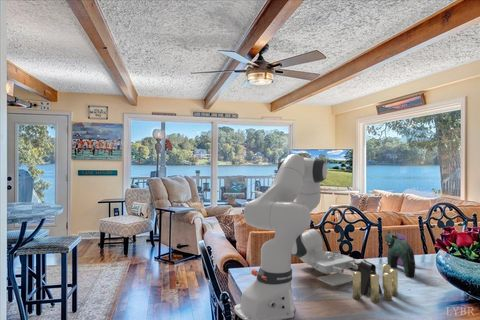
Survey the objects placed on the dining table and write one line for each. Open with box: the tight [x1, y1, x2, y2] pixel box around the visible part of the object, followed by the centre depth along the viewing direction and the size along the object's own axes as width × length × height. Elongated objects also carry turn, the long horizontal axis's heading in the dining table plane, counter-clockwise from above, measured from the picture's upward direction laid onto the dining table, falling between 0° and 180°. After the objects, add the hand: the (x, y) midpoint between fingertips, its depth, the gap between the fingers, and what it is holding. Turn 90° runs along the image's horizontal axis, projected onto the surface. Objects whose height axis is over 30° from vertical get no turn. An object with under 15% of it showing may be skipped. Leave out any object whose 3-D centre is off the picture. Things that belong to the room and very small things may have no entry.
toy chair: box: [396, 233, 408, 266], centre depth 170 cm, size 8×9×15 cm
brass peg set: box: [352, 263, 399, 304], centre depth 127 cm, size 22×10×10 cm, turn 122°
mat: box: [316, 272, 353, 287], centre depth 145 cm, size 16×10×1 cm, turn 122°
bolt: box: [355, 262, 361, 272], centre depth 160 cm, size 6×5×15 cm
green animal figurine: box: [384, 229, 416, 278], centre depth 157 cm, size 20×6×20 cm, turn 4°
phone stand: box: [359, 260, 383, 296], centre depth 131 cm, size 9×6×12 cm, turn 106°
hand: (349, 269), depth 139 cm, fingers open, 8 cm apart
